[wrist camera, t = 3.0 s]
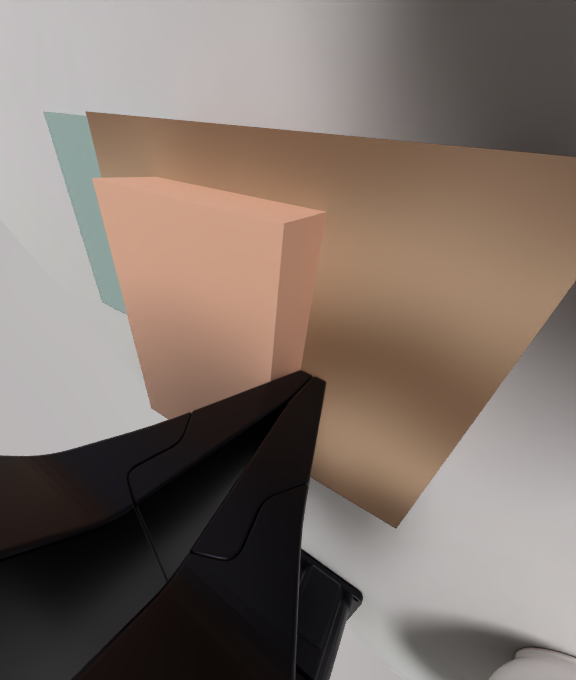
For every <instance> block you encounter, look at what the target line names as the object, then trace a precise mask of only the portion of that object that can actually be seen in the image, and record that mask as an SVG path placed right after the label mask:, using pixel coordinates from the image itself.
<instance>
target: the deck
mask: <svg viewBox="0 0 576 680" xmlns="http://www.w3.org/2000/svg"><path fill="white" fill-rule="evenodd" d="M86 115H87V119H88V123H89V128H90V132H91V136H92V140H93V144H94V148H95V152H96V156H97V161H98V165H99V169H100V173H101V177H102V178H114V177H159V178H164V179H169V180H174V181H179V182H183V183H188V184H193V185H198V186H203V187H208V188H213V189H217V190H222V191H227V192H232V193H237V194H242V195H247V196H251V197H256V198H261V199H266V200H271V201H276V202H281V203H285V204H290V205H295V206H300V207H305V208H310V209H315V210H320V211H324V212H326V218H325V224H324V230H323V237H322V243H321V249H320V255H319V261H318V267H317V273H316V279H315V285H314V291H313V297H312V303H311V310H310V316H309V322H308V328H307V334H306V340H305V346H304V352H303V358H302V364H301V370H303V371H305V372H307V373H309V374H311V375H312V376H313V377H314V376H316V377H318V378H320V379H322V380H325V381H326V389H325V395H324V401H323V406H322V412H321V418H320V424H319V429H318V435H317V441H316V447H315V453H314V458H313V464H312V470H311V476H310V477H311V478H313V479H314V480H316V481H318V482H319V483H321V484H323V485H324V486H326V487H328V488H329V489H331V490H333V491H334V492H336V493H338V494H339V495H341V496H343V497H344V498H346V499H348V500H349V501H351V502H353V503H354V504H356V505H358V506H359V507H361V508H363V509H364V510H366V511H368V512H369V513H371V514H373V515H374V516H376V517H377V518H379V519H381V520H382V521H384V522H386V523H387V524H389V525H391V526H392V527H394V528H397V527H398V525H399V524H400V522H401V521H402V520H403V518H404V517H405V516H406V514H407V513H408V511H409V510H410V509H411V507H412V506H413V504H414V503H415V502H416V500H417V499H418V498H419V496H420V495H421V493H422V492H423V491H424V489H425V488H426V487H427V485H428V484H429V482H430V481H431V480H432V478H433V477H434V475H435V474H436V473H437V471H438V470H439V469H440V467H441V466H442V464H443V463H444V462H445V460H446V459H447V458H448V456H449V455H450V453H451V452H452V451H453V449H454V448H455V446H456V445H457V444H458V442H459V441H460V440H461V438H462V437H463V435H464V434H465V433H466V431H467V430H468V429H469V427H470V426H471V424H472V423H473V422H474V420H475V419H476V417H477V416H478V415H479V413H480V412H481V411H482V409H483V408H484V406H485V405H486V404H487V402H488V401H489V400H490V398H491V397H492V395H493V394H494V393H495V391H496V390H497V388H498V387H499V386H500V384H501V383H502V382H503V380H504V379H505V377H506V376H507V375H508V373H509V372H510V371H511V369H512V368H513V366H514V365H515V364H516V362H517V361H518V359H519V358H520V357H521V355H522V354H523V353H524V351H525V350H526V348H527V347H528V346H529V344H530V343H531V342H532V340H533V339H534V337H535V336H536V335H537V333H538V332H539V330H540V329H541V328H542V326H543V325H544V324H545V322H546V321H547V319H548V318H549V317H550V315H551V314H552V313H553V311H554V310H555V308H556V307H557V306H558V304H559V303H560V301H561V300H562V299H563V297H564V296H565V295H566V293H567V292H568V290H569V289H570V288H571V286H572V285H573V284H574V282H575V281H576V157H570V156H560V155H549V154H538V153H527V152H516V151H506V150H495V149H484V148H473V147H463V146H452V145H441V144H430V143H419V142H409V141H398V140H387V139H376V138H366V137H355V136H344V135H333V134H322V133H312V132H301V131H290V130H279V129H269V128H258V127H247V126H236V125H225V124H215V123H204V122H193V121H182V120H172V119H161V118H150V117H139V116H128V115H118V114H107V113H96V112H86Z"/></svg>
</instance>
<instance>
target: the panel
mask: <svg viewBox="0 0 576 680" xmlns="http://www.w3.org/2000/svg"><path fill="white" fill-rule="evenodd" d="M44 115H45V118H46V121H47V125H48V128H49V131H50V134H51V138H52V141H53V144H54V147H55V151H56V154H57V157H58V160H59V164H60V167H61V170H62V173H63V177H64V180H65V183H66V186H67V190H68V193H69V196H70V199H71V203H72V206H73V209H74V212H75V215H76V219H77V222H78V225H79V228H80V232H81V235H82V238H83V241H84V245H85V248H86V251H87V254H88V258H89V261H90V264H91V267H92V271H93V274H94V277H95V280H96V284H97V287H98V290H99V293H100V297H101V300H102V302H103V303H105V304H107V305H109V306H111V307H113V308H115V309H117V310H119V311H121V312H123V313H125V314H127V312H126V308H125V304H124V300H123V296H122V292H121V288H120V285H119V281H118V277H117V273H116V269H115V265H114V261H113V258H112V254H111V250H110V246H109V242H108V238H107V234H106V231H105V227H104V223H103V219H102V215H101V211H100V207H99V204H98V200H97V196H96V192H95V188H94V184H93V180H92V178H102V177H101V173H100V169H99V165H98V161H97V156H96V152H95V148H94V144H93V140H92V136H91V132H90V128H89V123H88V119H87V116H80V115H70V114H60V113H51V112H44Z"/></svg>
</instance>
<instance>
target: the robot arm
mask: <svg viewBox="0 0 576 680" xmlns="http://www.w3.org/2000/svg"><path fill="white" fill-rule="evenodd" d="M325 389H326V381H325V380H322V379H320V378H318V377H316V376H314V377H313V376H312V375H311V374H309V373H307V372H305V371H303V370H299V371H296V372H293V373H291V374H288V375H285V376H283V377H280V378H278V379H275V380H272V381H270V382H267V383H264V384H262V385H259V386H257V387H254V388H251V389H249V390H246V391H243V392H241V393H238V394H236V395H233V396H230V397H228V398H225V399H222V400H220V401H217V402H215V403H212V404H209V405H207V406H204V407H201V408H199V409H196V410H194V411H192V413H191V412H188V413H185V414H183V415H180V416H178V417H175V418H172V419H169V420H167V421H164V422H161V423H158V424H155V425H152V426H149V427H146V428H142V429H139V430H136V431H133V432H130V433H126V434H123V435H119V436H116V437H113V438H109V439H105V440H102V441H98V442H95V443H91V444H88V445H84V446H81V447H78V448H74V449H70V450H67V451H63V452H58V453H53V454H46V455H38V456H0V680H329V679H330V676H331V672H332V669H333V665H334V662H335V658H336V655H337V651H338V648H339V645H340V641H341V638H342V634H343V631H344V627H345V624H346V621H347V620H348V619H349V618H350V617H351V615H352V614H353V613H354V612H355V611H356V610H357V608H358V607H359V606H360V605H361V604H362V600H363V596H362V595H361V594H360V593H359V592H358V591H356V590H355V589H354V588H352V587H351V586H349V585H348V584H347V583H345V582H344V581H342V580H341V579H340V578H338V577H337V576H336V575H334V574H333V573H331V572H330V571H329V570H327V569H326V568H324V567H323V566H322V565H320V564H319V563H318V562H316V561H315V560H313V559H312V558H311V557H309V556H308V555H306V554H305V553H304V552H302V551H301V541H302V528H303V521H304V513H305V506H306V500H307V494H308V488H309V487H308V486H309V481H310V476H311V470H312V464H313V458H314V453H315V447H316V441H317V435H318V429H319V424H320V418H321V412H322V406H323V401H324V395H325Z"/></svg>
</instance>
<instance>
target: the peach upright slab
mask: <svg viewBox="0 0 576 680" xmlns="http://www.w3.org/2000/svg"><path fill="white" fill-rule="evenodd" d="M92 180H93V184H94V188H95V192H96V196H97V200H98V204H99V207H100V211H101V215H102V219H103V223H104V227H105V231H106V234H107V238H108V242H109V246H110V250H111V254H112V258H113V261H114V265H115V269H116V273H117V277H118V281H119V285H120V288H121V292H122V296H123V300H124V304H125V308H126V312H127V316H128V319H129V323H130V327H131V331H132V335H133V339H134V343H135V346H136V350H137V354H138V358H139V362H140V366H141V370H142V373H143V377H144V381H145V385H146V389H147V393H148V397H149V400H150V404H151V408H152V409H154V410H155V411H157V412H158V413H160V414H161V415H163V416H164V417H166V418H167V419H172V418H175V417H178V416H180V415H183V414H185V413H188V412H191V413H192V411H194V410H196V409H199V408H201V407H204V406H207V405H209V404H212V403H215V402H217V401H220V400H222V399H225V398H228V397H230V396H233V395H236V394H238V393H241V392H243V391H246V390H249V389H251V388H254V387H257V386H259V385H262V384H264V383H267V382H270V381H272V380H275V379H278V378H280V377H283V376H285V375H288V374H291V373H293V372H296V371H299V370H301V364H302V358H303V352H304V346H305V340H306V334H307V328H308V322H309V316H310V310H311V303H312V297H313V291H314V285H315V279H316V273H317V267H318V261H319V255H320V249H321V243H322V237H323V230H324V224H325V218H326V212H324V211H320V210H315V209H310V208H305V207H300V206H295V205H290V204H285V203H281V202H276V201H271V200H266V199H261V198H256V197H251V196H247V195H242V194H237V193H232V192H227V191H222V190H217V189H213V188H208V187H203V186H198V185H193V184H188V183H183V182H179V181H174V180H169V179H164V178H159V177H114V178H92Z"/></svg>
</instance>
